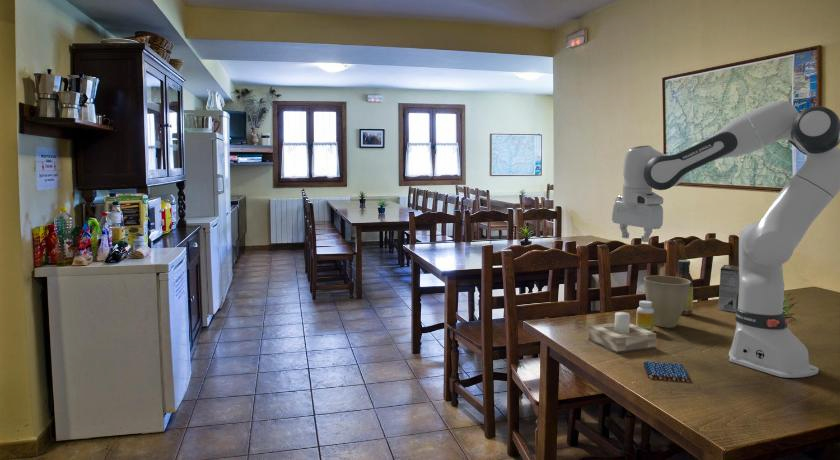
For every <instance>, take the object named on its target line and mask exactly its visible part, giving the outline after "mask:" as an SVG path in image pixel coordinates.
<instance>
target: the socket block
mask: <svg viewBox="0 0 840 460" xmlns="http://www.w3.org/2000/svg"><path fill="white" fill-rule="evenodd" d="M588 327H589V328H588V340H589V341H590V342H593V343H595V344H597V345H599V346H600V347H603V348H604V349H607V350H609V351H611V352H613V353H615V354H624V353H631V352H638V351H640V352H641V351H648V350H655V349H656V348H657V346H656V345H657V333H655V332H653V331H652V332H651V331H648V330H646V329H643V328H641V327H638V326H636V324H633V323H630V328H629V333H628V334H620V335H619V334H617V333H615V332H614V327H615V322H613V323H603V324H594V325H589V326H588Z"/></svg>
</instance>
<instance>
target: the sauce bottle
mask: <svg viewBox="0 0 840 460" xmlns="http://www.w3.org/2000/svg"><path fill="white" fill-rule="evenodd" d="M677 264H678V270H677V272H678V273H676V276H675V277H679V278H684V279H687V280H689V281H691V284H690V288H689V292H688V296H687V300H686V303H685V306H684V309H683V311H682V314H681V315H683V316H690V315H692V314H693V309H694V307H693V306H694V284H693V283H694V279H693V277H692V275H691V273H690V272H691V271H690V265H691V261H690V260H687V259H679V260H678V261H677Z"/></svg>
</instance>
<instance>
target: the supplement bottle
mask: <svg viewBox="0 0 840 460" xmlns="http://www.w3.org/2000/svg"><path fill="white" fill-rule="evenodd" d="M638 302H639V303H638V304H639V306H638V307H637V309H636V322H635V325H636V326H638V327H641V328H643V329H646V330H648V331H651V332H653V331H654V324H653V322H654V310H653V309H652V308H651V307H652V302H650V301H647V300H639V301H638Z"/></svg>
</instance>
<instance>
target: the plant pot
mask: <svg viewBox="0 0 840 460" xmlns="http://www.w3.org/2000/svg"><path fill="white" fill-rule="evenodd" d="M643 283H644V293H645V298H646V300H645V301H650V302H652V307H651V308H652V309H653V310H654V322H653V326H656V327H660V328H675V327H676V326H677V324H678V322H679V320H680V318H681V314H682V311H683V309H684V306H685V303H686V300H687V296H688V292H689V288H690V284H691V281H689V280H687V279H684V278H679V277H676V276H671V275H670V276H669V275H648V276H644V277H643Z"/></svg>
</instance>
